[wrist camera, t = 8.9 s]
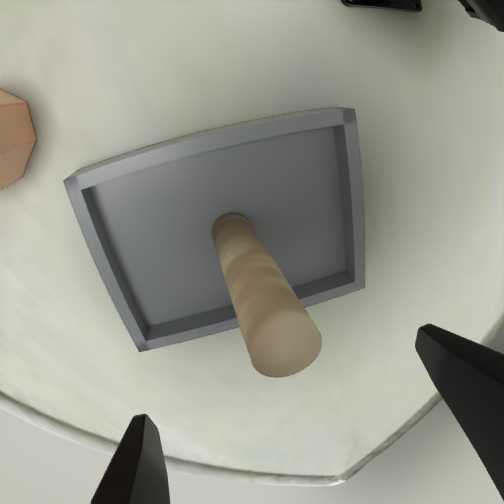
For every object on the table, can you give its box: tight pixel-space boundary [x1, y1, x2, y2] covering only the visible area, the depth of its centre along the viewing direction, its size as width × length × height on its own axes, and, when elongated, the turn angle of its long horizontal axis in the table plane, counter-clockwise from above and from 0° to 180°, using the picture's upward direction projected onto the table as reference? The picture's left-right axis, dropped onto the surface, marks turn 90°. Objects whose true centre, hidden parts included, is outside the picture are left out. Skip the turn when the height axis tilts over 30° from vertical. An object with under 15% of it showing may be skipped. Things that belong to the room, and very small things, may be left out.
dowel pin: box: [211, 212, 322, 377], centre depth 15 cm, size 2×2×10 cm
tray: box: [63, 107, 365, 352], centre depth 19 cm, size 16×12×2 cm
